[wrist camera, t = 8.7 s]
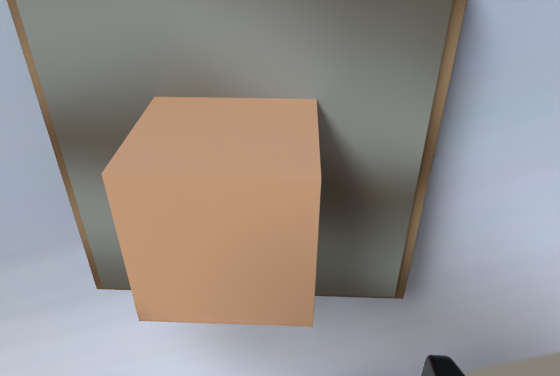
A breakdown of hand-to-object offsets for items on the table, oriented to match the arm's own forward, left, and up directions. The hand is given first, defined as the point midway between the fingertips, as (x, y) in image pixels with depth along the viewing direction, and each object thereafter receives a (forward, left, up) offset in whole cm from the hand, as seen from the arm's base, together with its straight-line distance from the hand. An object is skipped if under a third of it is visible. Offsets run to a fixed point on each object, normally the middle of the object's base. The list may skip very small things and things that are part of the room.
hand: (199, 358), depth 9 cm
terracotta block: (0, 0, -8) cm, 8 cm away
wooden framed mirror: (0, 0, -11) cm, 11 cm away
